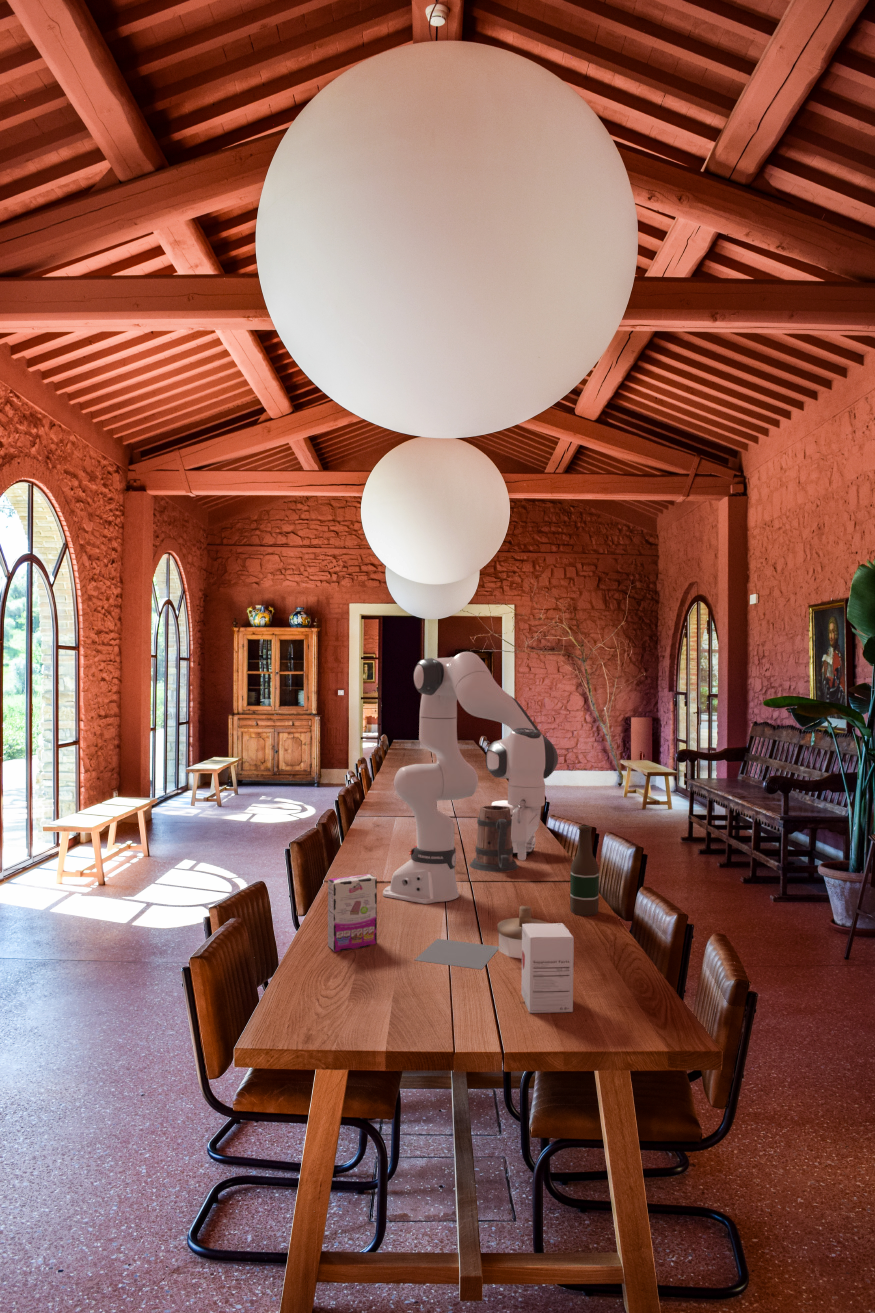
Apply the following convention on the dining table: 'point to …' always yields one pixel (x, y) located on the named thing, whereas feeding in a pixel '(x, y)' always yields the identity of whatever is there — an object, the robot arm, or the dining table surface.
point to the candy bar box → (352, 912)
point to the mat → (458, 954)
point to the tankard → (494, 840)
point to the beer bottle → (584, 877)
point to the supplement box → (547, 968)
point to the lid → (517, 923)
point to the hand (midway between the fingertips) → (525, 855)
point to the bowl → (510, 946)
